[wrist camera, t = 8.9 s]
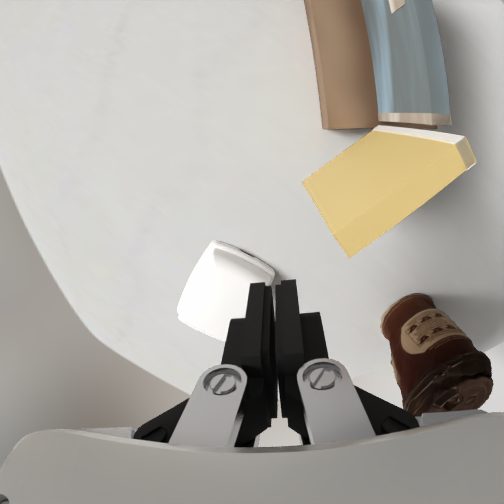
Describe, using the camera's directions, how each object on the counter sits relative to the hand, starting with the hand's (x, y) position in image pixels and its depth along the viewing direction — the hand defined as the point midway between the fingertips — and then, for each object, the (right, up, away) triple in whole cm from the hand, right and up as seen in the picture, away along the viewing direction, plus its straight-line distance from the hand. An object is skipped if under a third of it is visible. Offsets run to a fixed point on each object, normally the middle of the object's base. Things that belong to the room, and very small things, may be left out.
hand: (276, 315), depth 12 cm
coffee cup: (+15, -4, +18) cm, 24 cm away
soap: (-3, -1, +18) cm, 18 cm away
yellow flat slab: (+6, +9, +9) cm, 14 cm away
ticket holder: (+8, +19, +8) cm, 22 cm away
